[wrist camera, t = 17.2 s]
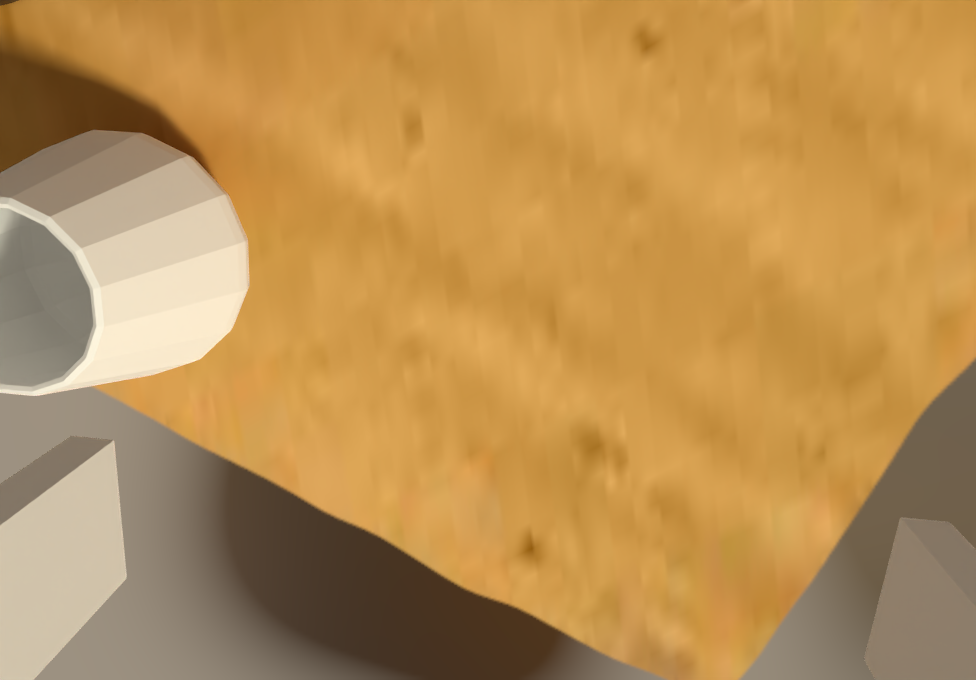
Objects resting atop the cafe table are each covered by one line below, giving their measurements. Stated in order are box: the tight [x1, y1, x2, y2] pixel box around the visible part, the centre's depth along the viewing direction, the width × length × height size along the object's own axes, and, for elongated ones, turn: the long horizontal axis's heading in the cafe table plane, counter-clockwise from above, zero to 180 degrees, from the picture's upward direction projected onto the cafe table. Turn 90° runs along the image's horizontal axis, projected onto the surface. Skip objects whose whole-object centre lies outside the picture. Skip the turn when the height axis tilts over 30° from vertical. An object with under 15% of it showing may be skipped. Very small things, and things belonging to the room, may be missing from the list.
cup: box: [0, 130, 249, 396], centre depth 38 cm, size 13×13×14 cm
